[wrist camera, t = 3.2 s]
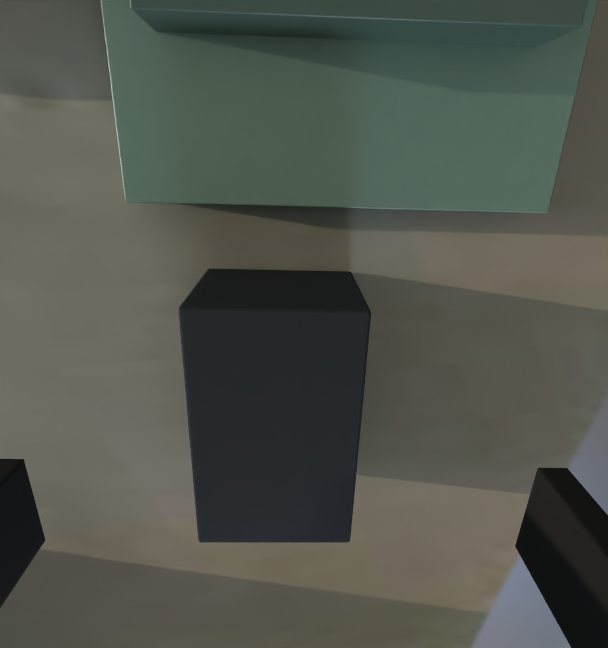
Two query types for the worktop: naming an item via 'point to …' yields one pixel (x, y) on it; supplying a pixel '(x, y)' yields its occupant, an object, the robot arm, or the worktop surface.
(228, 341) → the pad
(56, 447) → the worktop surface
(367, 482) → the worktop surface
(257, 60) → the base pad
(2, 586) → the robot arm
